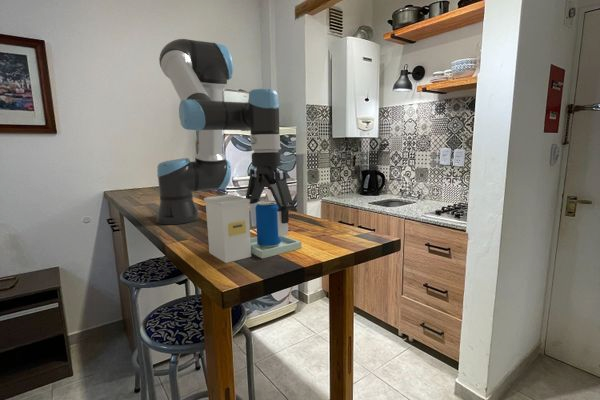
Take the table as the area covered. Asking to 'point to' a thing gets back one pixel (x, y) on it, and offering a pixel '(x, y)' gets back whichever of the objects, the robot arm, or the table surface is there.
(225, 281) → the table surface
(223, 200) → the block
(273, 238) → the beverage can
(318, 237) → the table surface
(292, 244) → the tray
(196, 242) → the table surface
